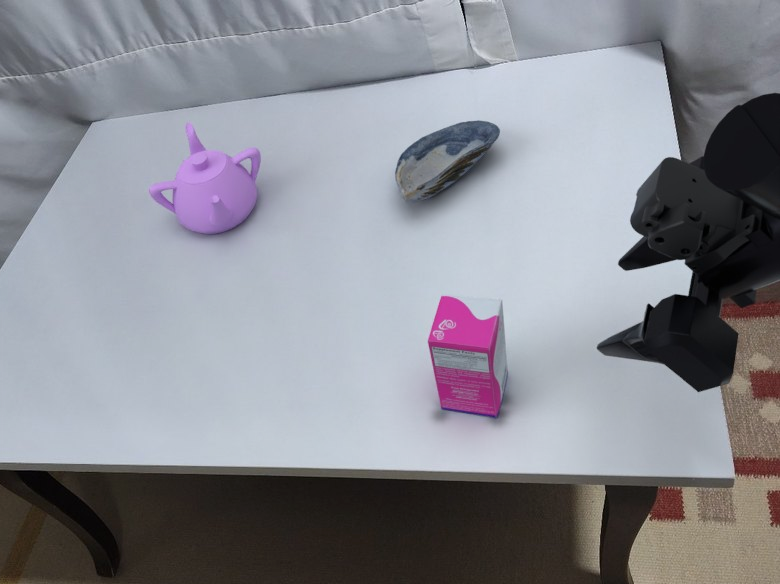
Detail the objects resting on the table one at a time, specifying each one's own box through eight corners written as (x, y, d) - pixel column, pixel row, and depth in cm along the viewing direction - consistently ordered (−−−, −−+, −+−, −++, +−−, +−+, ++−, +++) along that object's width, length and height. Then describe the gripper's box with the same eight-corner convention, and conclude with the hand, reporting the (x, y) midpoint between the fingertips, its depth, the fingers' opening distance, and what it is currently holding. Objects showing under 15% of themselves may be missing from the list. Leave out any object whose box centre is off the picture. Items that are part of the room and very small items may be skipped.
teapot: (208, 172, 108) (186, 120, 101) (286, 192, 102) (269, 138, 95) (157, 227, 103) (132, 177, 96) (236, 252, 97) (214, 199, 90)
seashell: (500, 217, 90) (499, 185, 86) (395, 224, 93) (389, 193, 89) (500, 135, 98) (499, 103, 94) (404, 144, 102) (399, 113, 98)
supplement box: (451, 364, 79) (441, 291, 70) (509, 372, 76) (506, 297, 67) (437, 410, 76) (426, 339, 67) (498, 420, 73) (494, 348, 64)
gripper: (740, 57, 51) (566, 171, 64) (707, 252, 42) (511, 339, 55) (841, 158, 54) (654, 248, 67) (829, 362, 45) (616, 420, 58)
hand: (611, 306), depth 62 cm, fingers open, 9 cm apart
